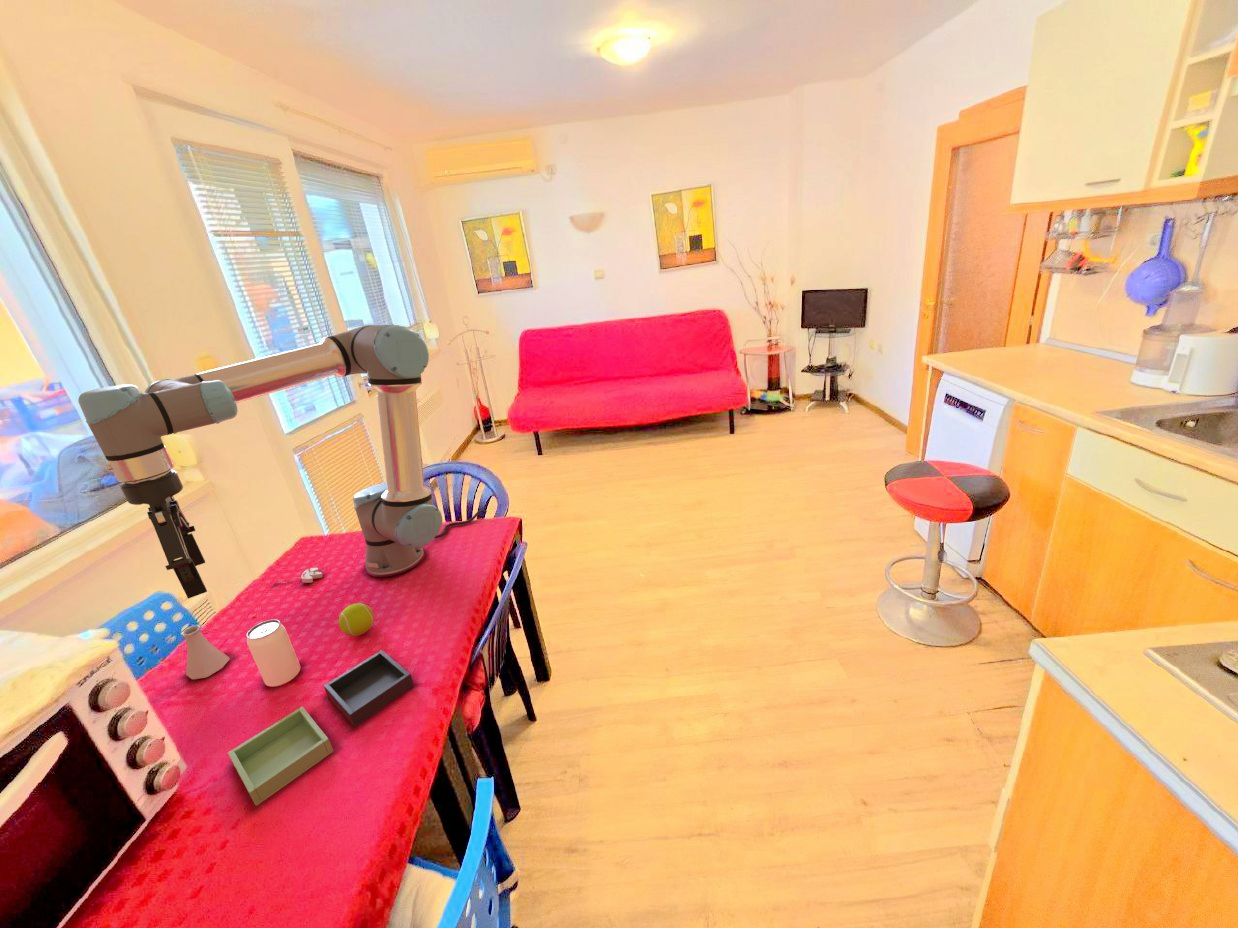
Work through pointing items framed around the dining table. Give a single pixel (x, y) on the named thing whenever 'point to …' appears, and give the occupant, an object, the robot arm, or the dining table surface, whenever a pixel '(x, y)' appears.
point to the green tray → (279, 754)
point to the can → (273, 653)
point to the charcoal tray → (368, 687)
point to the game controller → (310, 575)
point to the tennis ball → (356, 619)
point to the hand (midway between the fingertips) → (197, 579)
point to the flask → (202, 654)
